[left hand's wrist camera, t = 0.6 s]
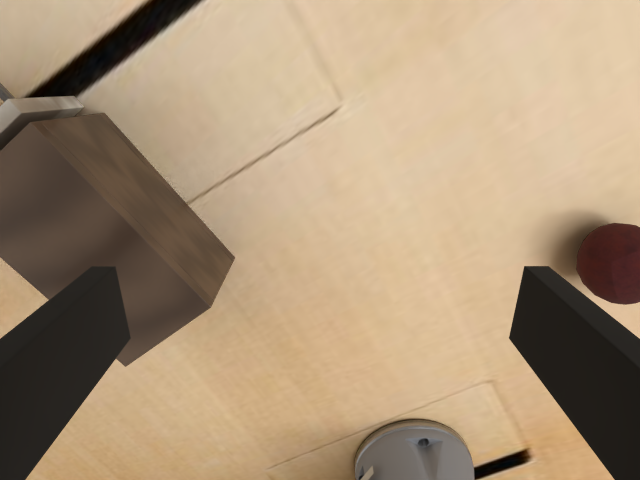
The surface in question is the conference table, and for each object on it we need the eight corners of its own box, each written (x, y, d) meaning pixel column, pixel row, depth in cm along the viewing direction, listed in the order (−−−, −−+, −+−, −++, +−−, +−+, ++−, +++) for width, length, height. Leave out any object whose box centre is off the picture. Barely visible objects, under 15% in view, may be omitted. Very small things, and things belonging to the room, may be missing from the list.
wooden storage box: (33, 177, 38) (-58, 207, 29) (104, 112, 36) (29, 122, 27) (166, 307, 44) (125, 367, 34) (235, 257, 41) (210, 307, 32)
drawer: (-37, 110, 35) (-132, 117, 28) (27, 44, 33) (-58, 32, 26) (143, 285, 41) (104, 328, 34) (205, 238, 39) (178, 274, 32)
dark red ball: (572, 291, 43) (617, 329, 36) (551, 233, 40) (596, 262, 34) (641, 262, 41) (701, 296, 35) (624, 200, 39) (686, 223, 32)
